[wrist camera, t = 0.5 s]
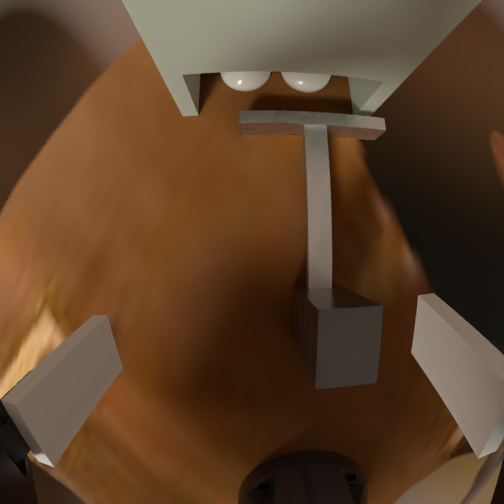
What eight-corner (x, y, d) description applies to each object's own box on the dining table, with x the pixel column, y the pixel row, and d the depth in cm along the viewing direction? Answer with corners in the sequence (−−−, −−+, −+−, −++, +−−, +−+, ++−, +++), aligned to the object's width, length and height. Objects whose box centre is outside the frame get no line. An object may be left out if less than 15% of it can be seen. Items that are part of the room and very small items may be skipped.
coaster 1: (271, 92, 28) (272, 87, 27) (220, 93, 28) (219, 87, 27) (269, 53, 28) (270, 47, 27) (221, 54, 28) (220, 48, 27)
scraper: (377, 332, 29) (434, 372, 18) (243, 339, 28) (239, 392, 17) (372, 128, 28) (425, 80, 17) (240, 123, 28) (235, 61, 17)
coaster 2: (330, 95, 28) (333, 90, 27) (281, 92, 28) (282, 87, 27) (326, 56, 28) (328, 50, 27) (279, 53, 28) (280, 47, 27)
